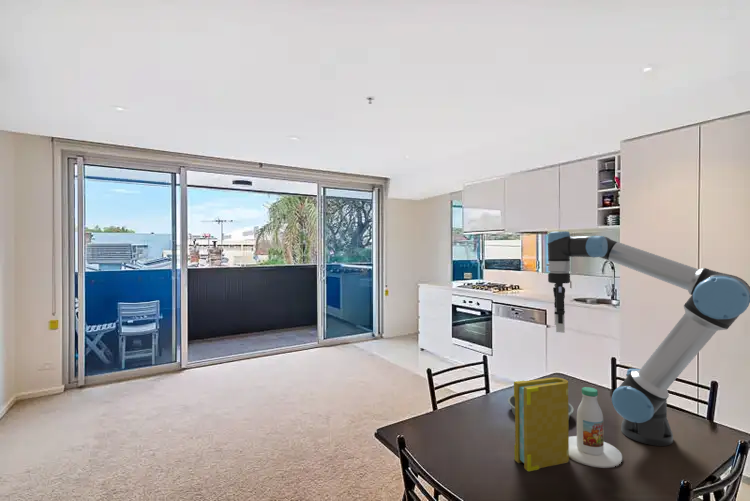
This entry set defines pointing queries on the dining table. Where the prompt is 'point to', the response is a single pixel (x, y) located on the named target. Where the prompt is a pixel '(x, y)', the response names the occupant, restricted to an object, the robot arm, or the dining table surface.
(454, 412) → the dining table surface
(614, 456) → the white round plate
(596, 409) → the milk bottle
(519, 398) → the book
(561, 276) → the robot arm
